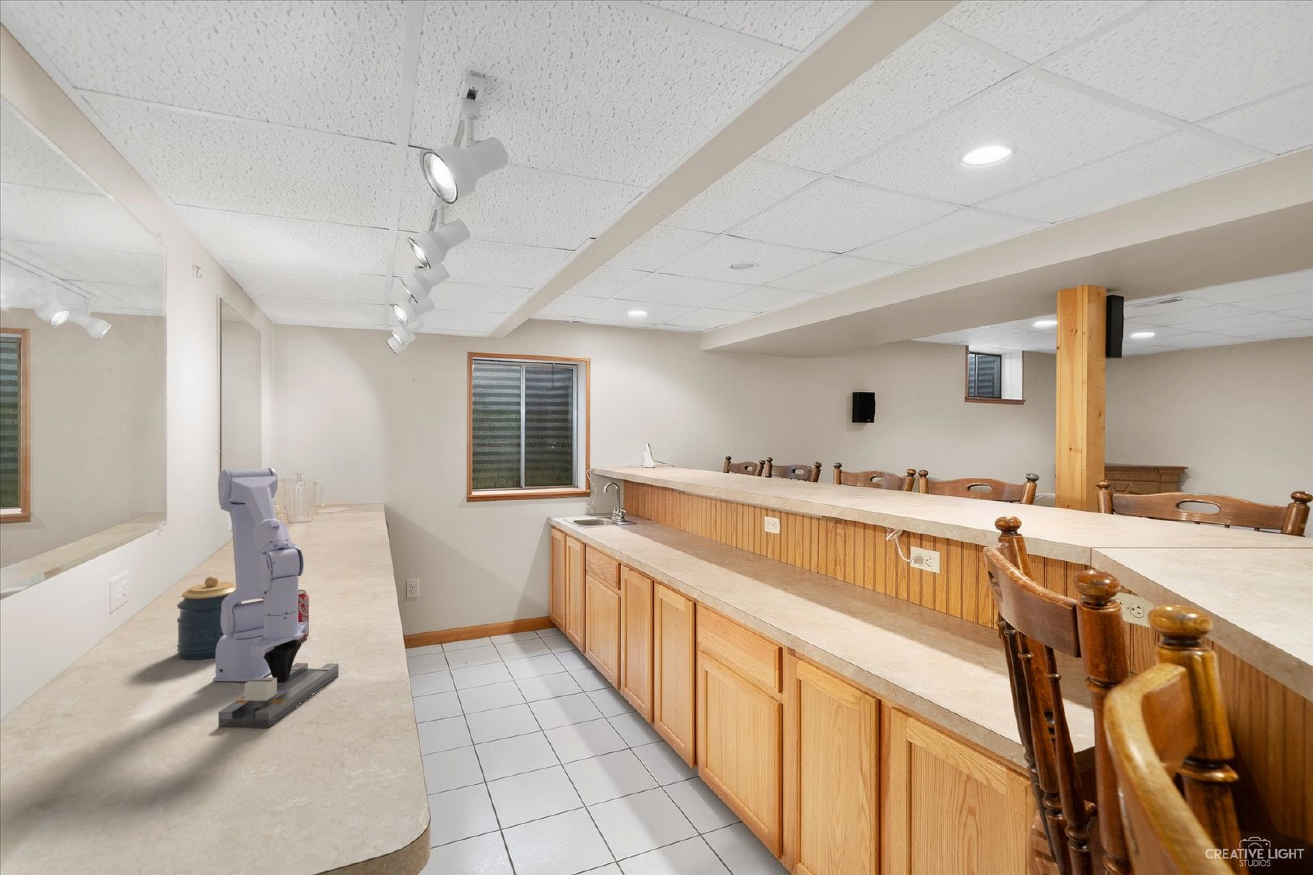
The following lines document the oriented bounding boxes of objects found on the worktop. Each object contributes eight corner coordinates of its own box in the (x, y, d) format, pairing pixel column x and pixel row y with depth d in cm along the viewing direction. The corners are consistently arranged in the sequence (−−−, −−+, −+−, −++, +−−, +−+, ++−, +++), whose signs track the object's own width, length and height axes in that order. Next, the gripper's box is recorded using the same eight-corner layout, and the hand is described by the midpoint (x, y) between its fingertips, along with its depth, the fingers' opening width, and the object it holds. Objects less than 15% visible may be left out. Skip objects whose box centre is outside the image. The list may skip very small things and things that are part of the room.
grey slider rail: (218, 727, 109) (218, 710, 109) (296, 675, 132) (296, 661, 132) (268, 727, 109) (268, 711, 109) (338, 676, 132) (338, 662, 132)
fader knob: (244, 709, 112) (244, 683, 112) (255, 701, 115) (255, 676, 115) (266, 709, 112) (266, 683, 112) (276, 702, 115) (276, 677, 115)
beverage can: (295, 644, 151) (295, 595, 151) (273, 643, 152) (273, 594, 152) (314, 636, 157) (314, 589, 157) (293, 634, 158) (293, 588, 158)
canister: (179, 665, 138) (179, 585, 138) (175, 649, 148) (174, 575, 147) (248, 651, 146) (248, 577, 146) (240, 637, 156) (240, 567, 156)
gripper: (277, 623, 112) (277, 697, 113) (322, 601, 127) (322, 667, 127) (239, 622, 113) (239, 697, 113) (288, 600, 127) (288, 666, 127)
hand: (281, 681), depth 120 cm, fingers closed
